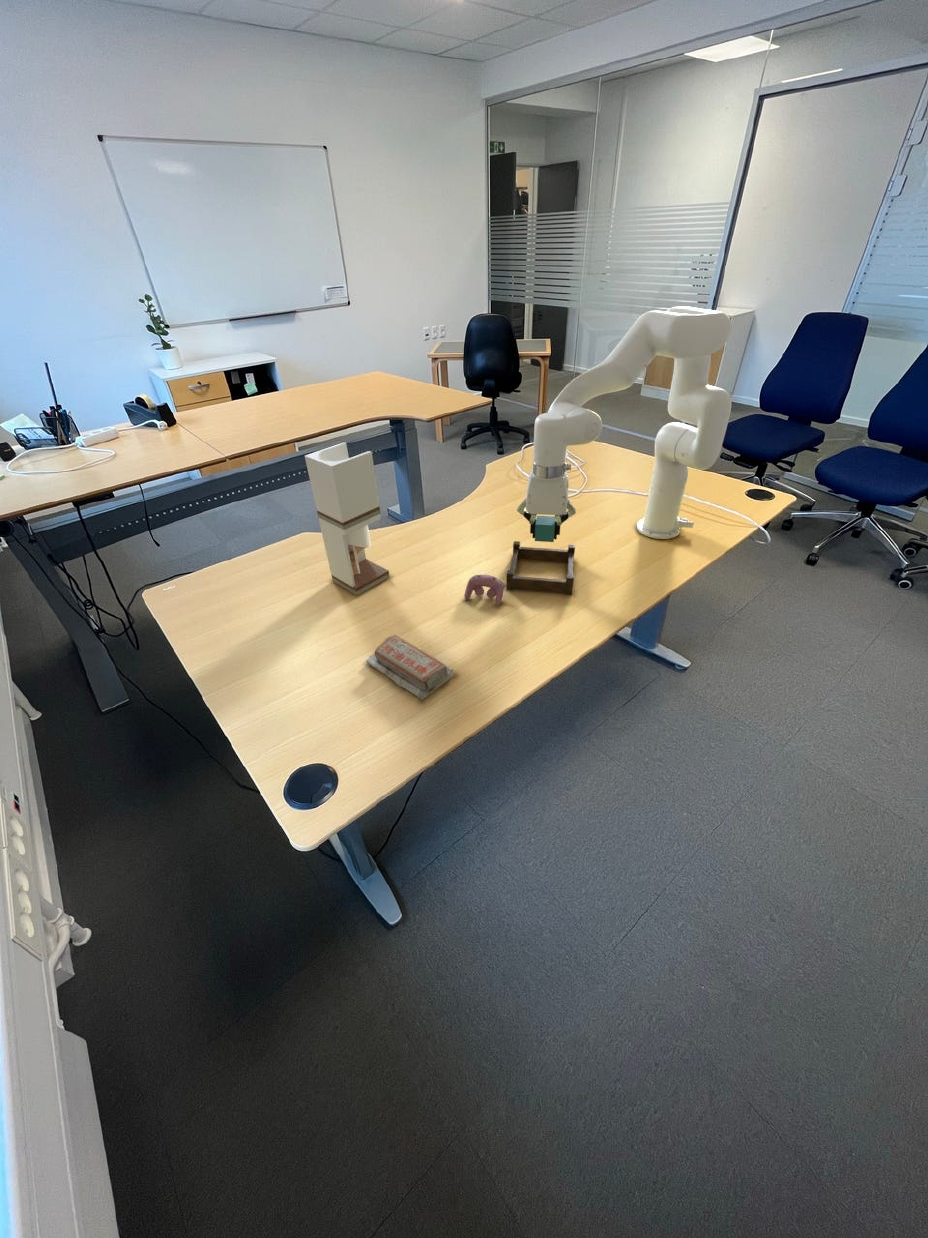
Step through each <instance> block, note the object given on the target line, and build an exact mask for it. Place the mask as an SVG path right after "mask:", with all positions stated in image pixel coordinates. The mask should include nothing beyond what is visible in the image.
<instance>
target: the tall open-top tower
mask: <svg viewBox="0 0 928 1238" xmlns="http://www.w3.org/2000/svg"><path fill="white" fill-rule="evenodd" d="M348 451H349V450H348V446H347V442H345V441H344V442H340V443H338V444H335V445H332V446H329V447H326V448H322V449H320V450H317V451H314V452H312V453H309V454H305V455H304V459H305V464H306V468H307V473H308V478H309V482H310V486H311V491H312V496H313V500H314V504H315V509H316V512H317V517H318V522H319V526H320V531H321V535H322V536H321V537H322V540H323V544H324V549H325V553H326V558H327V561H328V566H329V571H330V575H331V580H332V582H333V583H335V584H337V585H338V586H340V587H341V588H343V589H345V590H347V591H349V592H350V593H352V594H353V595H355V596H358V595H360V594H363V593H364V592H365V591H367V590H369V589H371V588H372V587H375V586H376V585H378V584H380V583H382V582H384V581H385V580H387V579H388V578H390V570H388V569H386V568H385V567H383V566H380V565H379V564H377V563H375V562H373V561H371V560H369V559H367V556H366V555H367V554H366V550H365V549H367V548H372V543H371V536H370V530H369V525H371V524H372V523H375V522H377V521H379V520H381V519H382V515H381V514H382V513H381V506H380V500H379V493H378V486H377V479H376V473H375V472H376V471H375V465H374V458H373V452H372V451H371V450H368V451H365V452H361V453H360V454H357V455H355V456H351V457H349V452H348Z"/></svg>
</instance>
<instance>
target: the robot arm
mask: <svg viewBox="0 0 928 1238" xmlns="http://www.w3.org/2000/svg"><path fill="white" fill-rule="evenodd" d="M731 333H732V321H731V318H730V317H729V315H728V314H727V313H725V312H724V311H720V310H713V309H706V308H698V307H692V306H672V307H670V308H668V309H666V310H665V311H664V310H649V311H646V312H644V313H642V314H641V315H639V317H638V318H637V319H636V320H635V322H634V323H633V324H632V325H631V327H629V329H628V330H627V331H626V333H625V334H624V335H623V336H622V338H621V339H620V340H619V342H618V343H617V344H616V346H615V347H614V348H613V350H611V352H610V353H609V354H608V356H607V357H606V358H605V359H604V360H603V361H601V362H600V363H599V364H597V365H595V366H593V367H591V368H589V369H587V370H586V371H584V372H582V373H581V374H579V375H578V376H576V377H575V378H573V379H572V380H571V381H569V382H568V383H567V384H566V385H565V386H564V387H563V389H562V390H561V391H560V392H559V394H558V395H557V396H556V398H555V399H554V400H553V401H552V403H551V405H550V407H549V408H548V410H547V412H544V413H540V414H539V415H537V416H536V418H535V419H534V430H533V454H532V455H533V456H532V457H533V458H532V470H531V471H530V472H529V475H528V479H527V486H526V496H525V499H524V500H523V501H522V502H521V503H520V504H519V505H518V506H517V509H516V511H517V513H519V514H520V515H521V516H523V517H524V518H525V520H527V522H528V523H529V525H530V526H529V534H531V535H532V539H535V524H536V518H537V516H538V515H544V516H555V518H556V520H555V531H554V540H557V538H558V536H560V535H561V526H562V524H563V523H564V522H566V521H567V520H569V518H571V517H573V516H574V515H576V513H577V509H576V508H575V507H574V505H573V503H572V502H571V501H570V500H569V474H568V472H567V471H571V470H572V464H571V463H567V462H566V458H567V448H568V447H571V446H583V445H588V444H591V443H593V442H594V441H596V440H597V438H599V436H600V435H601V433H602V430H603V420H602V417H600V415H599V414H598V413H596V412H595V411H593V410H591V409H588V408H585V407H582V406H584V404H586V403H587V402H588V401H590V400H592V399H594V398H597V397H598V396H602V395H606V394H611V393H615V392H619V391H623V390H626V389H628V388H630V387H632V386H633V385H634V383H635V382H636V381H637V380H638V379H639V377H640V376H641V375H642V374H643V372H644V371H646V369H647V367H648V366H649V365H650V364H651V362H652V361H653V360H654V359H655V358H656V357H657V356H661V357H666V358H669V359H673V360H674V363H673V371H672V379H671V383H670V390H669V395H668V400H667V401H668V402H667V412H668V414H669V416H670V417H672V418H674V419H676V420H678V421H681V422H669V423H666V424H665V425H663V426H662V427H661V428H660V429H659V430H658V432H657V434H656V436H655V440H654V463H653V470H652V475H651V480H650V485H649V490H648V494H647V495H648V496H647V500H646V505H645V509H644V515H643V518H641V519H640V520H638V522H637V524H636V529H637V532H639V533H640V534H642V535H643V536H646V537H648V538H651V539H657V540H669V539H674V538H676V537H677V536H679V535H680V533H681V529H682V528H686V529H693V528H694V525H695V524H694V521H691V520H690V521H689V519H688V518H686V517H685V518H684V517H683V518H681V517H680V516H679V515H680V514H679V513H680V511H681V506H682V502H683V499H684V494H685V490H686V487H687V482H688V478H689V477H688V476H689V469H688V468H691V469H694V470H697V471H705V470H708V469H710V468H712V466H714V464H715V463H716V462H717V460H718V458H719V456H720V453H721V450H722V448H723V443H724V440H725V436H726V432H727V428H728V424H729V421H730V416H731V412H732V406H733V405H732V397H731V395H730V393H729V392H728V391H727V390H725V389H723V388H721V387H718V386H714V385H710V384H709V377H710V371H711V364H712V355H713V354H714V353H717V352H718V351H720V350H721V349H722V348H723V347H724V346H725V345H726V343H727V342H728V340H729V338H730V336H731ZM682 422H683V423H682ZM684 422H685V423H687V424H685V423H684ZM689 424H690V425H689ZM692 425H694V426H692ZM695 426H697V427H695Z"/></svg>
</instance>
